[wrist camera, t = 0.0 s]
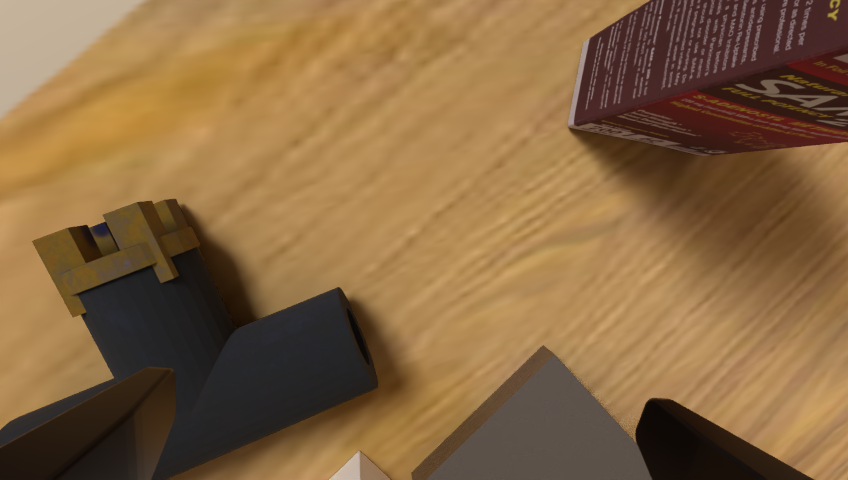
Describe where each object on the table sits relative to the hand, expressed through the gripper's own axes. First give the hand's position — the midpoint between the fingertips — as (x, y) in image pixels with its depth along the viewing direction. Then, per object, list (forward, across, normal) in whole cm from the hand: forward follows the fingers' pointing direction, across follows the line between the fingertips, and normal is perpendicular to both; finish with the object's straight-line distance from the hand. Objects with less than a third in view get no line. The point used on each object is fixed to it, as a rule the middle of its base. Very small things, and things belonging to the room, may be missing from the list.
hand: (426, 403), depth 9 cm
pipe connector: (+15, +9, +7) cm, 19 cm away
